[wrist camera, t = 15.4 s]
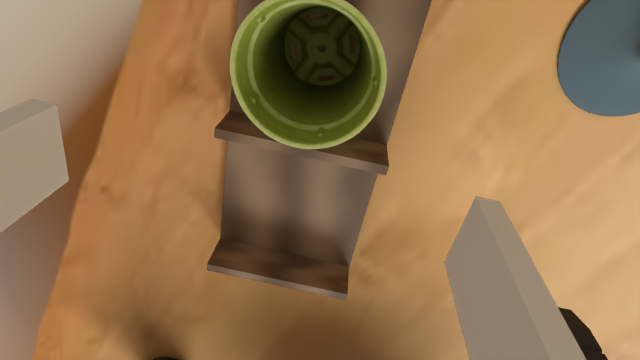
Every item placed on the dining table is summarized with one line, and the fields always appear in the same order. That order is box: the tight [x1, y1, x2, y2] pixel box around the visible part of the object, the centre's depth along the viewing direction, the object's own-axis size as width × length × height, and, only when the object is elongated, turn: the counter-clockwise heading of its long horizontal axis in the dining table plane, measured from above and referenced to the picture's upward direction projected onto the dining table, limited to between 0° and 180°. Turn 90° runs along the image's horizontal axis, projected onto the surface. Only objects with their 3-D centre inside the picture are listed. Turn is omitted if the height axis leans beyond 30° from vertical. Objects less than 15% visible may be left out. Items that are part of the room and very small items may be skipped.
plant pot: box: [230, 0, 387, 149], centre depth 27 cm, size 9×9×9 cm
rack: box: [207, 0, 431, 300], centre depth 33 cm, size 14×30×5 cm, turn 169°
